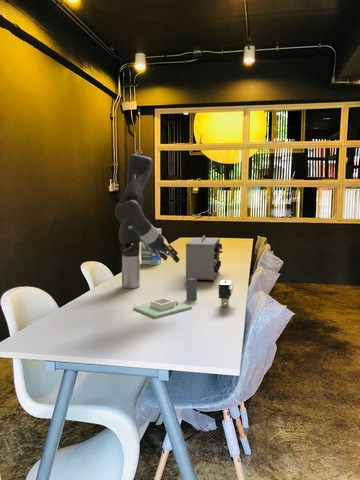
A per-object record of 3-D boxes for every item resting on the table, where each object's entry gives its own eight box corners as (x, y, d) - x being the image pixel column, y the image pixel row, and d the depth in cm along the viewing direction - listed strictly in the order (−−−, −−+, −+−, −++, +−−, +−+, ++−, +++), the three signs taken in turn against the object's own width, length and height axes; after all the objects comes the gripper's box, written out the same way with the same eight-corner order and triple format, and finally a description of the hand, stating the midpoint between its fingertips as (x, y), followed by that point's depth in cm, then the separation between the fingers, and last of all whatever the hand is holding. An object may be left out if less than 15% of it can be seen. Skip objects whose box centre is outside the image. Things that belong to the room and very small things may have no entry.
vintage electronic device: (217, 283, 209) (217, 239, 206) (185, 281, 213) (185, 238, 210) (222, 271, 240) (222, 233, 237) (194, 270, 244) (194, 233, 241)
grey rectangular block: (191, 300, 175) (191, 280, 174) (186, 299, 178) (186, 278, 177) (196, 299, 178) (196, 278, 176) (191, 297, 180) (191, 277, 179)
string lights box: (140, 264, 266) (140, 228, 262) (145, 262, 273) (144, 227, 270) (158, 265, 262) (157, 229, 258) (161, 263, 269) (161, 228, 266)
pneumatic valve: (217, 309, 162) (218, 282, 160) (221, 302, 173) (221, 276, 171) (230, 310, 160) (231, 283, 159) (233, 302, 172) (233, 277, 170)
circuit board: (155, 318, 150) (155, 310, 150) (133, 309, 162) (133, 301, 162) (191, 308, 163) (191, 300, 163) (168, 300, 175) (168, 293, 175)
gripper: (166, 231, 156) (186, 255, 164) (146, 229, 166) (166, 252, 175) (156, 244, 153) (177, 268, 161) (137, 242, 164) (158, 264, 172)
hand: (172, 260), depth 168 cm, fingers open, 8 cm apart
